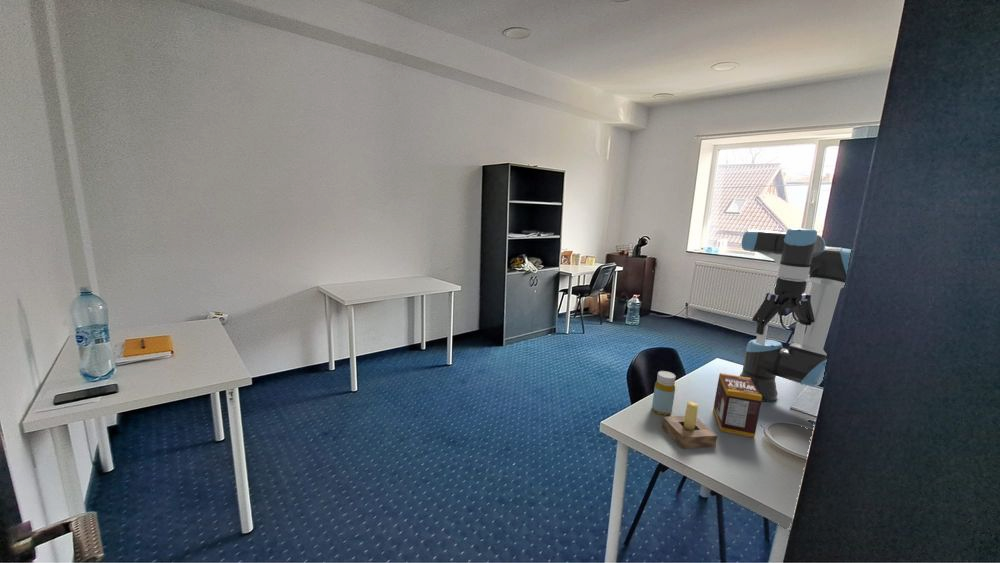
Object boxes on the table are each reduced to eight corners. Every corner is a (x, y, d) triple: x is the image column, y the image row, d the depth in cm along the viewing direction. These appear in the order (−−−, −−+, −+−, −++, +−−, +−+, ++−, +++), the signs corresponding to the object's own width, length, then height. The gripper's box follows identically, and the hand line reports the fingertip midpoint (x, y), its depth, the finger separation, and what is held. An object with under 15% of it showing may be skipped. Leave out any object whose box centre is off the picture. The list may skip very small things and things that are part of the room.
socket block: (692, 425, 138) (694, 415, 137) (715, 446, 126) (717, 435, 126) (661, 427, 136) (662, 416, 135) (682, 448, 125) (683, 437, 124)
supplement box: (743, 415, 146) (750, 377, 143) (754, 438, 132) (763, 396, 128) (712, 409, 149) (719, 372, 146) (720, 431, 135) (728, 390, 132)
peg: (689, 433, 133) (694, 401, 131) (695, 439, 130) (700, 406, 127) (680, 433, 133) (684, 402, 130) (686, 439, 129) (691, 407, 127)
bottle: (673, 417, 143) (678, 379, 140) (653, 414, 144) (658, 377, 141) (669, 407, 149) (674, 371, 146) (650, 404, 151) (655, 369, 148)
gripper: (815, 276, 125) (801, 338, 129) (746, 276, 121) (735, 339, 125) (838, 281, 117) (823, 346, 122) (766, 281, 114) (753, 348, 118)
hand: (778, 343), depth 124 cm, fingers open, 13 cm apart
